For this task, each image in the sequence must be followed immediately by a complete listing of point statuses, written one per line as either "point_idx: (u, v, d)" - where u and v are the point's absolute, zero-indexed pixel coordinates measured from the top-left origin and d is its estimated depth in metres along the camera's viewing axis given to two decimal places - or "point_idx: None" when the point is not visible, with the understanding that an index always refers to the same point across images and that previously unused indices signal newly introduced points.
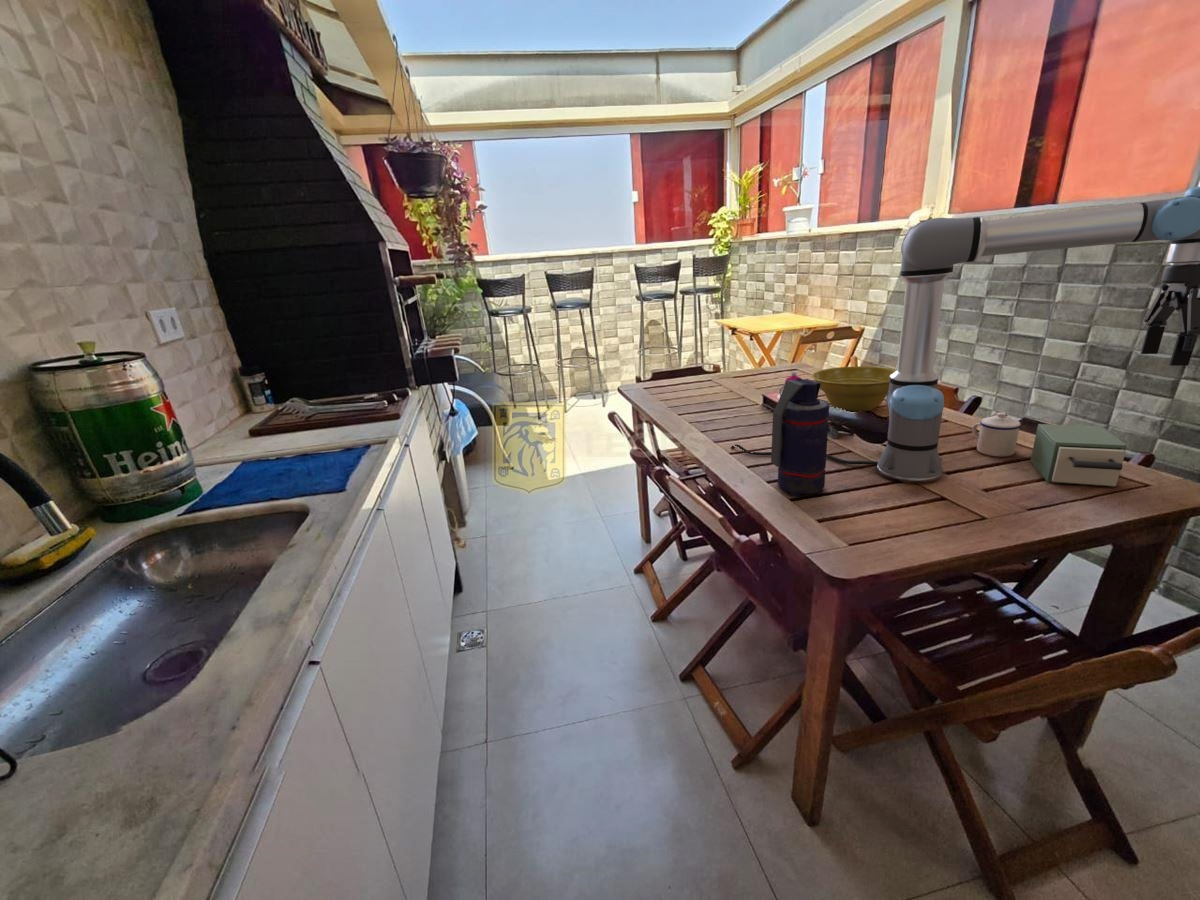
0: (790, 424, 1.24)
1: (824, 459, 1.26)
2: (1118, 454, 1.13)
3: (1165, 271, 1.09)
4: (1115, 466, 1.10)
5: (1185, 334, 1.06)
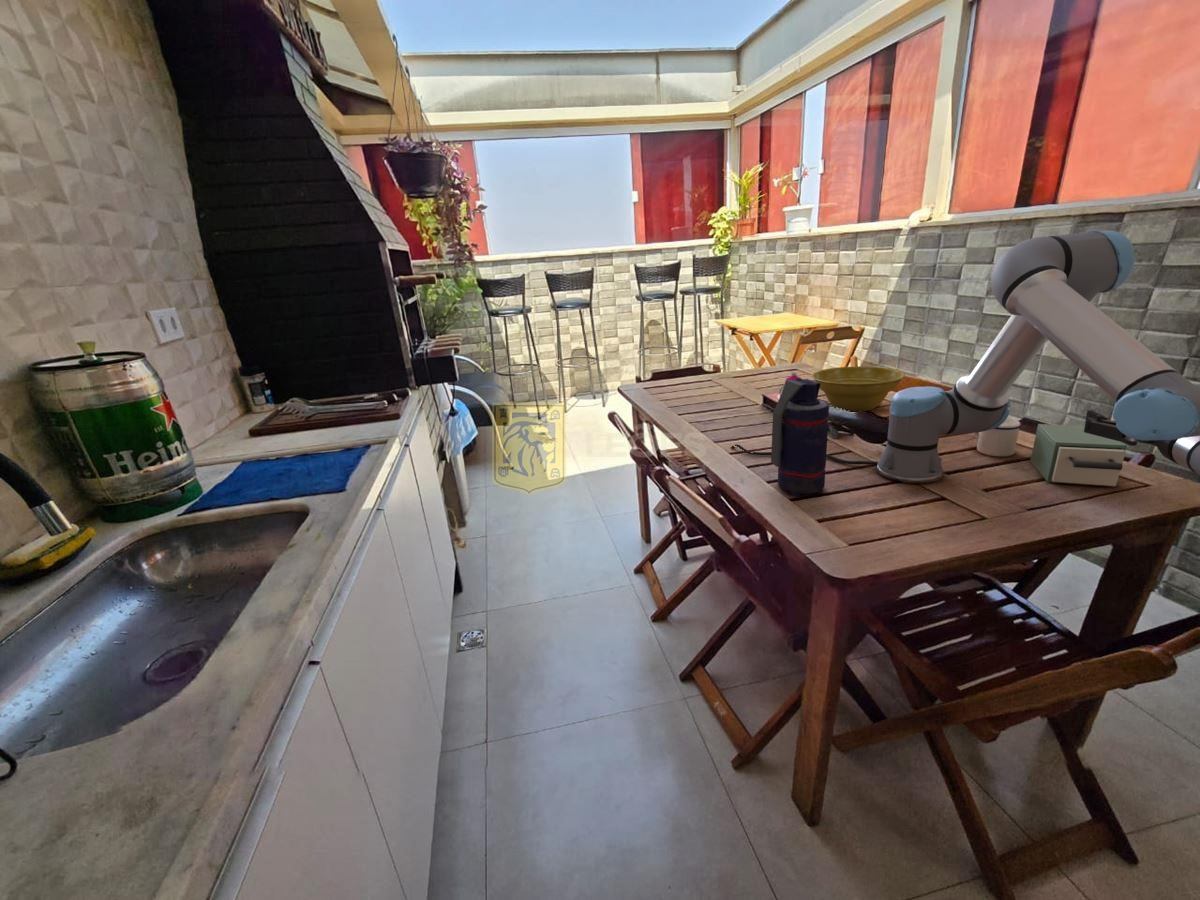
0: (790, 424, 1.24)
1: (824, 459, 1.26)
2: (1118, 454, 1.13)
3: None
4: (1115, 466, 1.10)
5: (1096, 420, 0.97)
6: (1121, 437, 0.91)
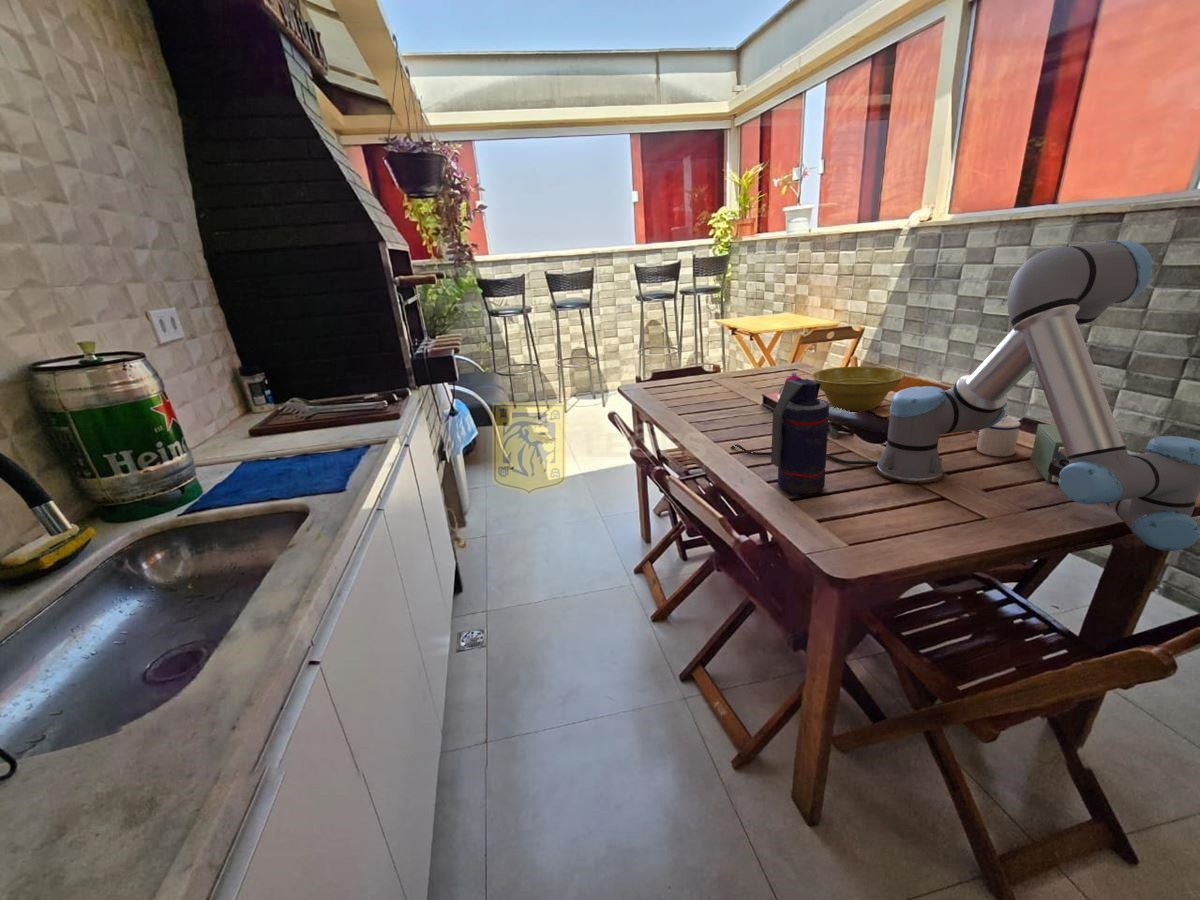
0: (790, 424, 1.24)
1: (824, 459, 1.26)
2: None
3: None
4: None
5: (1059, 462, 1.13)
6: None
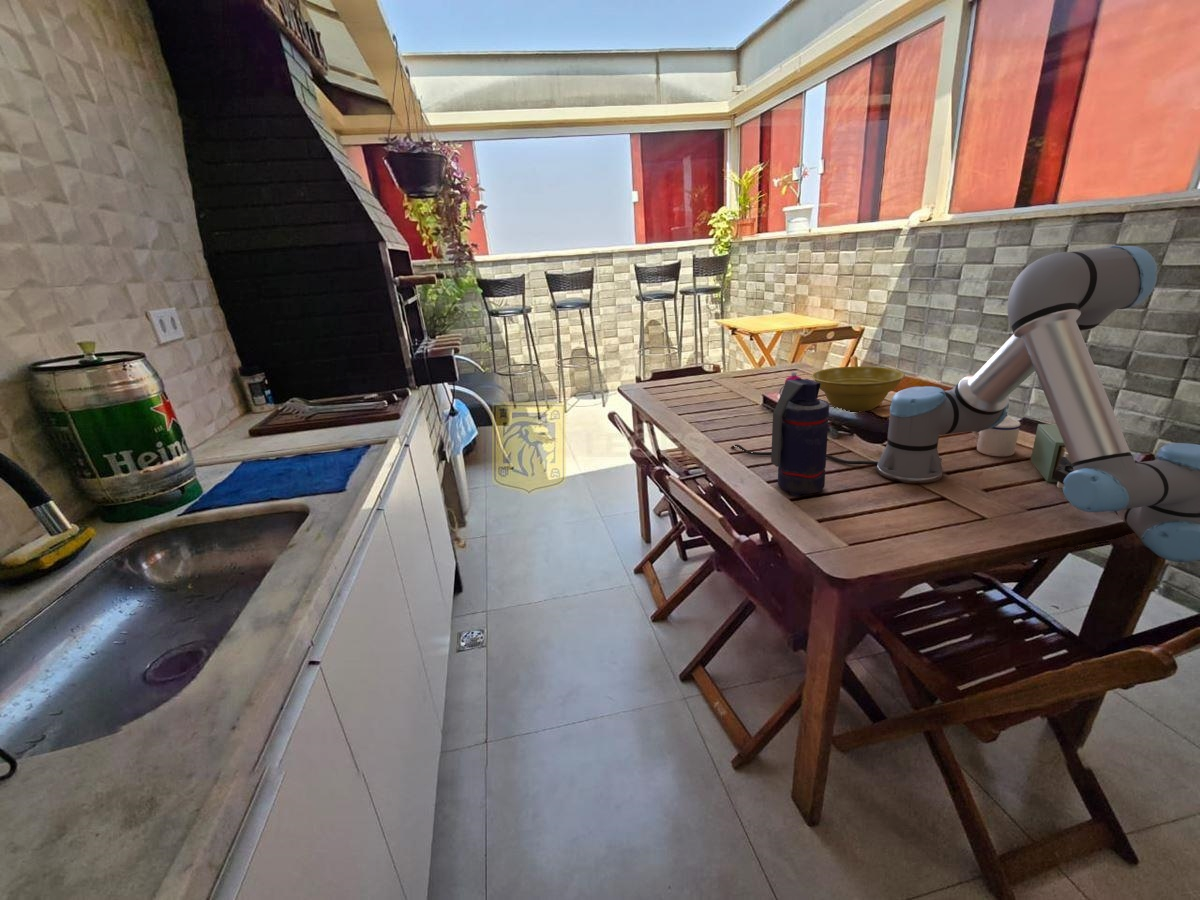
0: (790, 424, 1.24)
1: (824, 459, 1.26)
2: None
3: None
4: None
5: (1064, 468, 1.10)
6: None
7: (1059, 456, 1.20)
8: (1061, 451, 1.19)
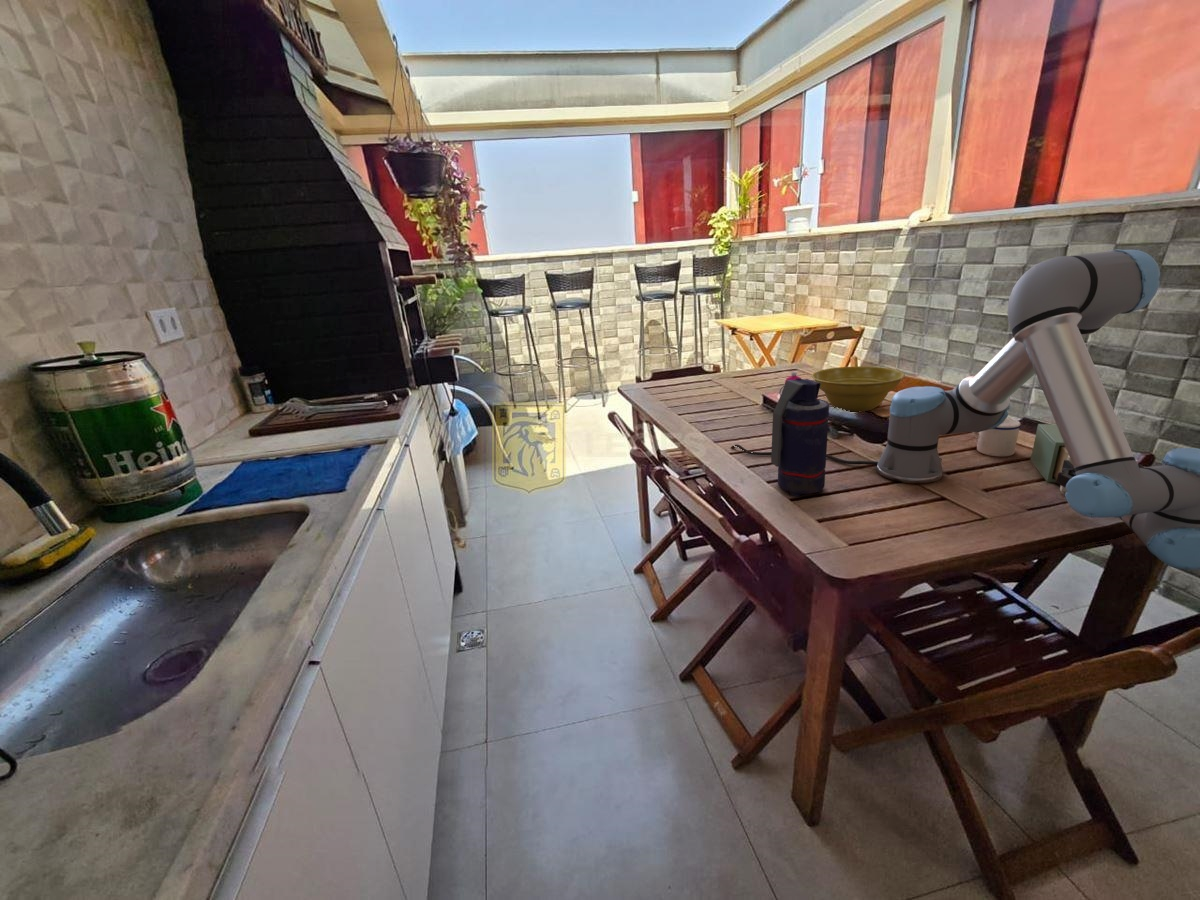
0: (790, 424, 1.24)
1: (824, 459, 1.26)
2: None
3: None
4: None
5: (1068, 472, 1.08)
6: None
7: (1062, 459, 1.18)
8: (1064, 454, 1.17)
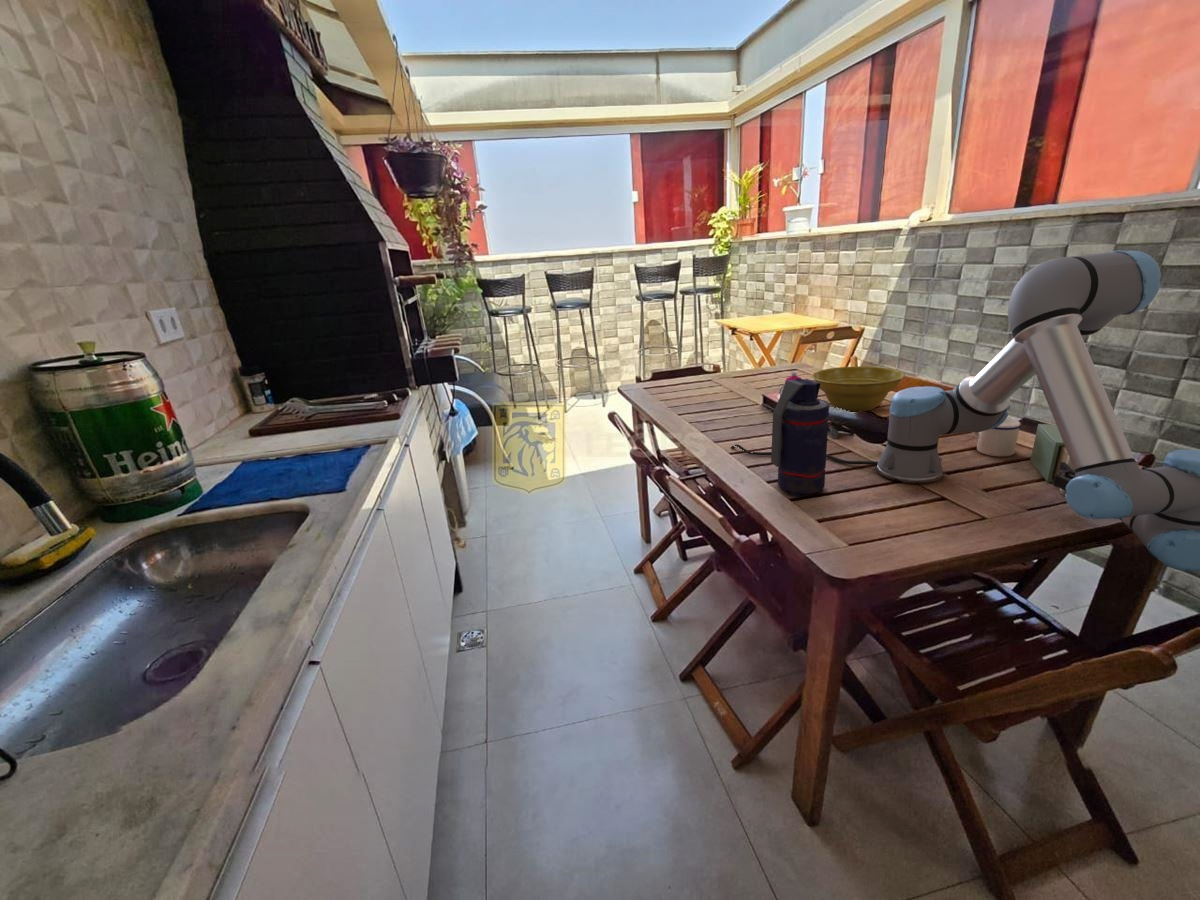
0: (790, 424, 1.24)
1: (824, 459, 1.26)
2: None
3: None
4: None
5: (1064, 474, 1.08)
6: None
7: (1062, 459, 1.18)
8: (1064, 454, 1.17)
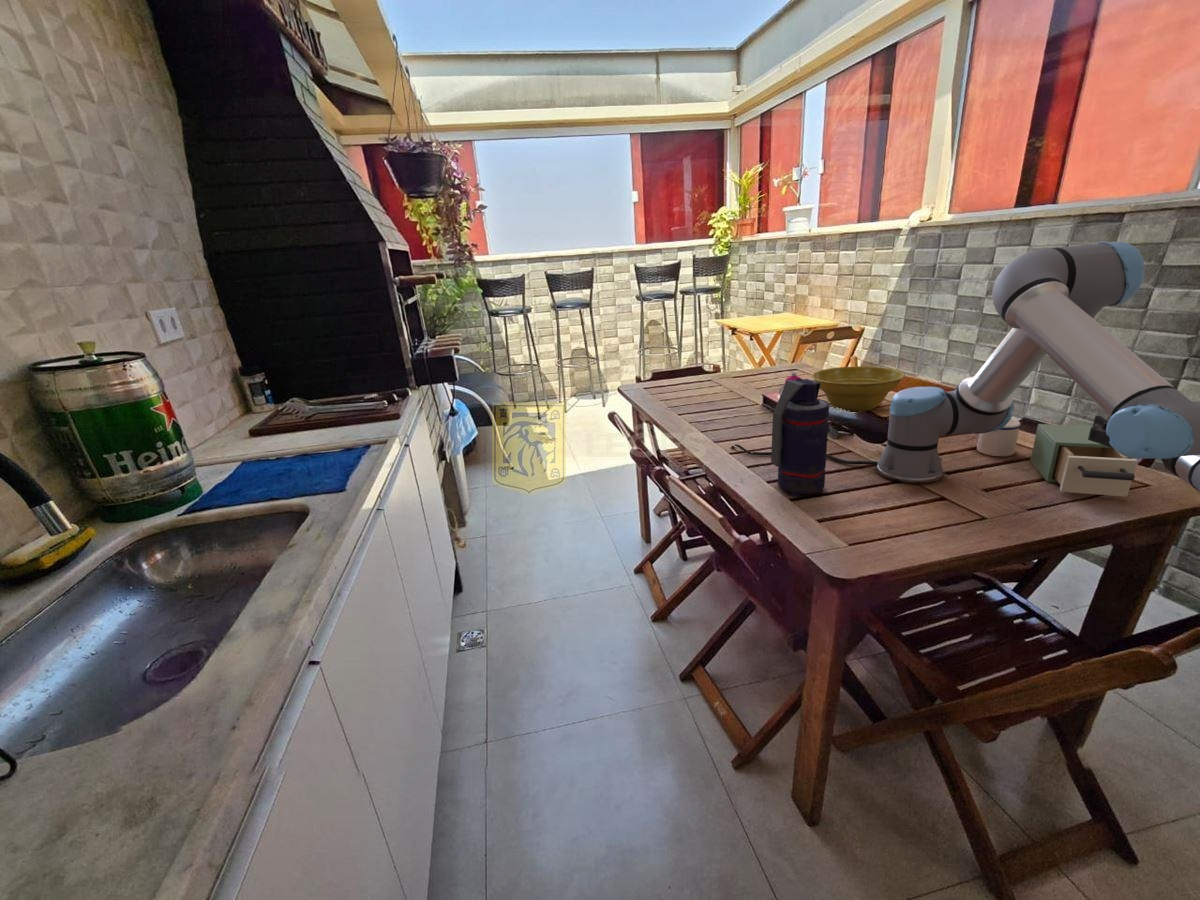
0: (790, 424, 1.24)
1: (824, 459, 1.26)
2: (1129, 464, 1.08)
3: None
4: (1126, 476, 1.05)
5: (1102, 427, 0.94)
6: None
7: (1062, 459, 1.18)
8: (1064, 454, 1.17)
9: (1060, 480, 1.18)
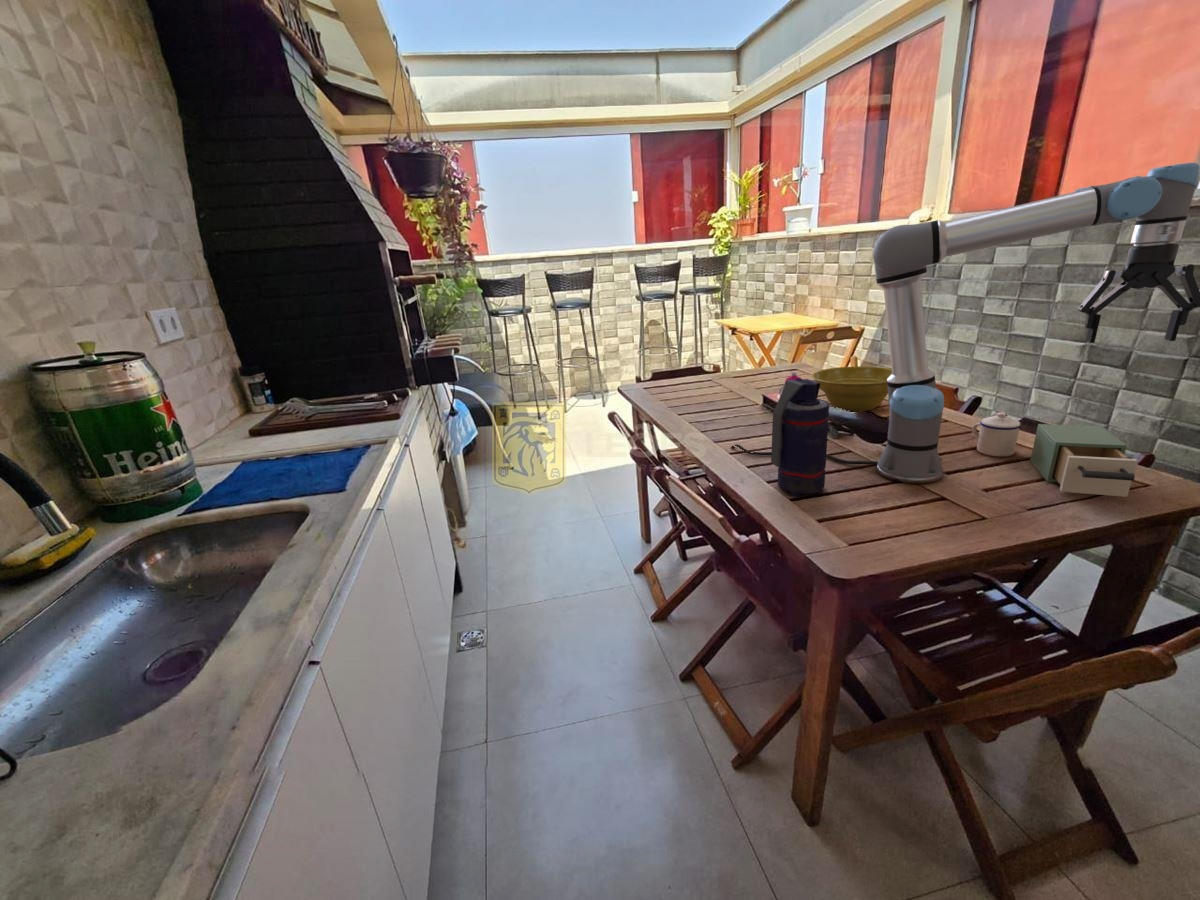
0: (790, 424, 1.24)
1: (824, 459, 1.26)
2: (1129, 464, 1.08)
3: None
4: (1126, 476, 1.05)
5: None
6: (1103, 281, 1.13)
7: (1062, 459, 1.18)
8: (1064, 454, 1.17)
9: (1060, 480, 1.18)
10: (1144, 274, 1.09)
